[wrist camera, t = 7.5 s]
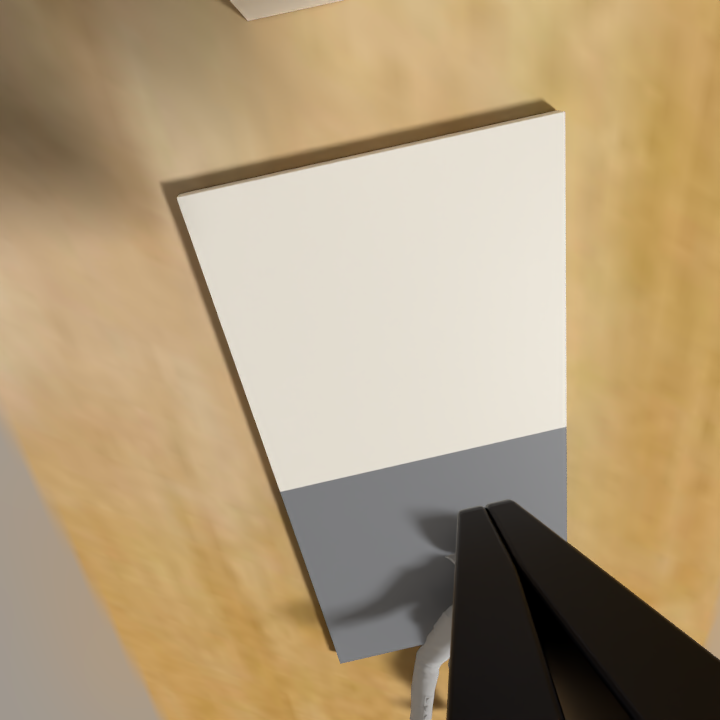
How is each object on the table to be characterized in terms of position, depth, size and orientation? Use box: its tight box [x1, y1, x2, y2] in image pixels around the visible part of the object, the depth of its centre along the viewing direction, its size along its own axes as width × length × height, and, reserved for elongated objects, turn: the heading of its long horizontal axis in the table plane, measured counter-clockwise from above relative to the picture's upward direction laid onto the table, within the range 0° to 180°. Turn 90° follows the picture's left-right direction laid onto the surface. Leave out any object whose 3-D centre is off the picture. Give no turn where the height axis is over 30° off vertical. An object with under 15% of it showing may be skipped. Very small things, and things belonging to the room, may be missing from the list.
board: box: [177, 110, 567, 664], centre depth 17 cm, size 18×9×1 cm, turn 11°
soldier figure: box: [410, 554, 455, 720], centre depth 20 cm, size 8×5×12 cm
